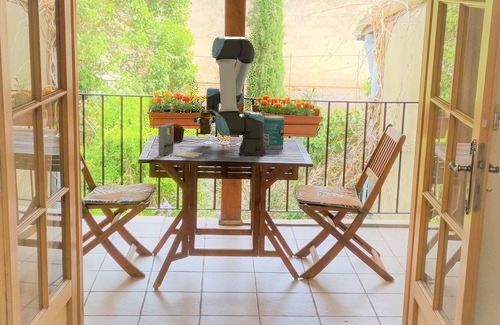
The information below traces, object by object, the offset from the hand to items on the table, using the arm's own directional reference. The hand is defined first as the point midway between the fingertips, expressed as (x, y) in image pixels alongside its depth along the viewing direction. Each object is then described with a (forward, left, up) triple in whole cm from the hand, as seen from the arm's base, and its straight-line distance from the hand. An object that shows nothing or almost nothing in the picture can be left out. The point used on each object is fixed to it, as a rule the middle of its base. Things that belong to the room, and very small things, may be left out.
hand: (203, 122), depth 393 cm
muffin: (+31, -29, -18) cm, 46 cm away
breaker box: (+18, +10, -18) cm, 27 cm away
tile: (+5, +7, -18) cm, 20 cm away
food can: (-28, -38, -18) cm, 50 cm away
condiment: (+2, -5, -7) cm, 9 cm away
